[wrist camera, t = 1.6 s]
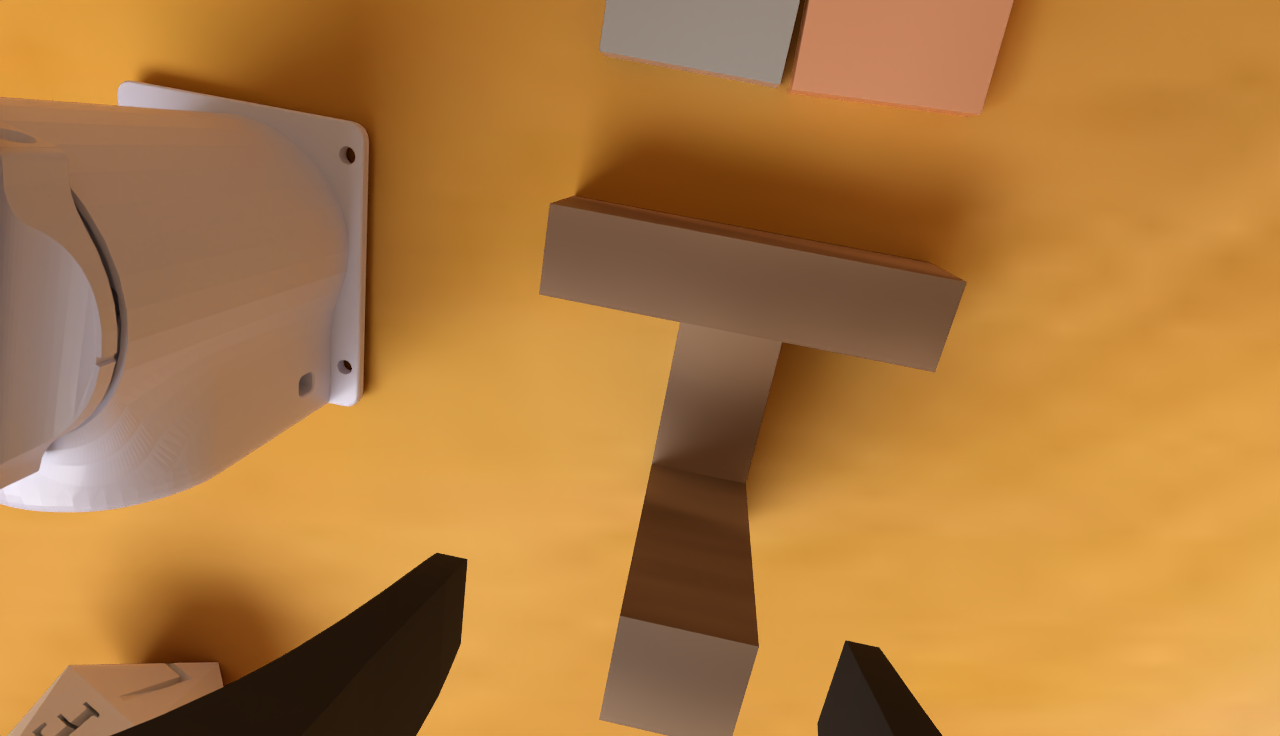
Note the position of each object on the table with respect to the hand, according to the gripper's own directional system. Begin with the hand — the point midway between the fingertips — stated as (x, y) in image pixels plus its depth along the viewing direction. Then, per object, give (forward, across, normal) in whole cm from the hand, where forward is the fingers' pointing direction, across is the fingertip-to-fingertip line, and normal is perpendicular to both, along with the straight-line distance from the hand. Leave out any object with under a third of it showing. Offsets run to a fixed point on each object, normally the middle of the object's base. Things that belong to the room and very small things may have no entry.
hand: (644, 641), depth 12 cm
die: (+11, +19, +18) cm, 29 cm away
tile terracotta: (+11, -4, -13) cm, 18 cm away
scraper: (+10, -1, -1) cm, 11 cm away
